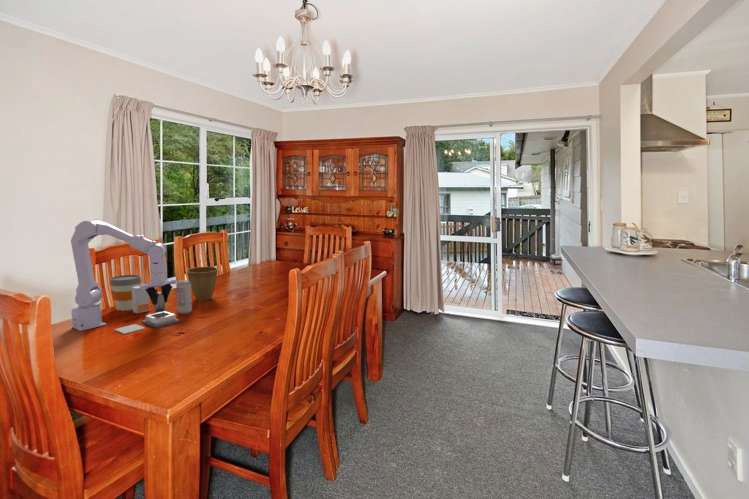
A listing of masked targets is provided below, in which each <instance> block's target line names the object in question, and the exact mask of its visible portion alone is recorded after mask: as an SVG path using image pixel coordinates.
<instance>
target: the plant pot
mask: <svg viewBox="0 0 749 499" xmlns="http://www.w3.org/2000/svg"><path fill="white" fill-rule="evenodd" d="M218 271H219V268H217V267H215V266H198V267H192V268H188V269H186V274H187V277H188V280H189V282H190V284H191V292H192V293H193V295H194V297H195V299H196V301H200V302H201V301H209V300H211V299H212V298H213V295H214V292H215V288H216V285H217V284H216V283H217V278H218V273H219V272H218Z"/></svg>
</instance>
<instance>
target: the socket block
mask: <svg viewBox="0 0 749 499" xmlns="http://www.w3.org/2000/svg"><path fill="white" fill-rule="evenodd" d="M180 322H181V320H180V319H178V318H176V313H172V312H169V311H166V310H165V311H163V312H155V313H151V314H146V315H145V319H143V320H141V323H142V324H144V325H147V326H150V327H153V328H155V329H160V328H162V327H166V326H169V325H174V324H176V323H177V324H178V323H180Z"/></svg>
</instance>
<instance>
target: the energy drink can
mask: <svg viewBox="0 0 749 499" xmlns="http://www.w3.org/2000/svg"><path fill="white" fill-rule="evenodd" d="M176 283H177V284H175V285H176V286H175V287H176V304H177V312H178V314H181V315H186V314H190V313H191V312H192V311H193V303H192V288H191V284H190V282H189V279H181V280H177V282H176Z"/></svg>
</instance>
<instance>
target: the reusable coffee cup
mask: <svg viewBox="0 0 749 499" xmlns="http://www.w3.org/2000/svg"><path fill="white" fill-rule="evenodd" d="M109 282H110V283H109V284H110V286H111V296H112V299H113V301H114V303H115V307H116V308H115V309H116V310H117V311H119V310H121V312H123V311H124V310H126V311H131V310H132V311H133V304H132V287H136V286H140V285H141V283H142V278H141V276H140V275H138V274H125V275H124V274H123V275H118V276H117V275H116V276H113V277H110V281H109ZM124 312H125V311H124Z"/></svg>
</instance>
